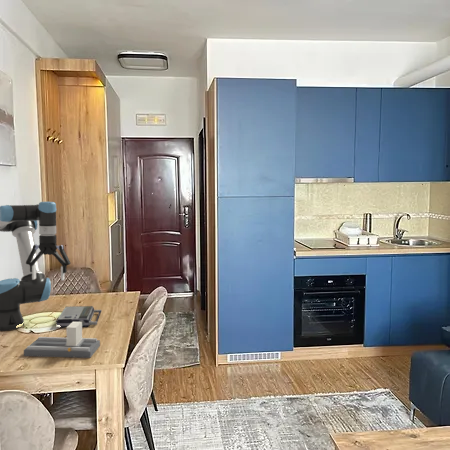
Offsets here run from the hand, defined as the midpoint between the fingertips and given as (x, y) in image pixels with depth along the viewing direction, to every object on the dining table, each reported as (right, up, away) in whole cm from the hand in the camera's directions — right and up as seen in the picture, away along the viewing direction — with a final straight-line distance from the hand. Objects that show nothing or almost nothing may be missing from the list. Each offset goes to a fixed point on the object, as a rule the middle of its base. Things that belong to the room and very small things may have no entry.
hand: (48, 279), depth 214 cm
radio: (+7, -25, +25) cm, 36 cm away
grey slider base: (+13, -29, -17) cm, 36 cm away
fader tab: (+18, -26, -18) cm, 37 cm away
